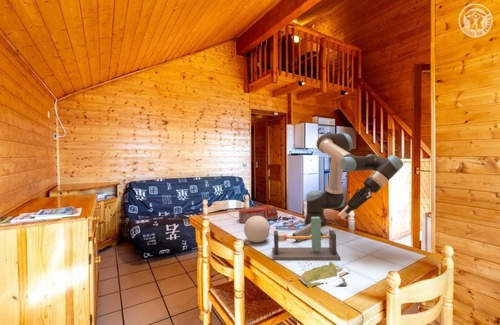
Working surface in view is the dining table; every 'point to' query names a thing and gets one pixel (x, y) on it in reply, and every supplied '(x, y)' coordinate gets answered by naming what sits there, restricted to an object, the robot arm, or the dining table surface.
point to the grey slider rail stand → (305, 249)
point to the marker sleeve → (316, 233)
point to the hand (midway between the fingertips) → (340, 216)
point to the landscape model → (321, 274)
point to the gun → (306, 231)
